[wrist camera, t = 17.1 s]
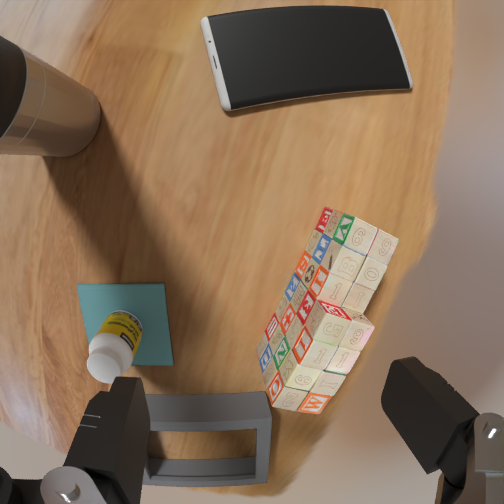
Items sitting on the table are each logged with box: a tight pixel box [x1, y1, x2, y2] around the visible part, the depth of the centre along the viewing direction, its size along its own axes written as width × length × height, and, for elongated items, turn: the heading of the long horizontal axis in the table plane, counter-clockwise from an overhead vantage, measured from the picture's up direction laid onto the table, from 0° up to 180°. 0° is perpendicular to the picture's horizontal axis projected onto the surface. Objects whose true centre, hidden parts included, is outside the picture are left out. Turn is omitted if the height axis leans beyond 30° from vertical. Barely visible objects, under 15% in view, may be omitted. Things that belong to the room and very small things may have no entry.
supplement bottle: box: [87, 310, 143, 383], centre depth 33 cm, size 5×5×10 cm
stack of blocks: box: [256, 207, 399, 414], centre depth 34 cm, size 21×6×12 cm, turn 157°
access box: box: [142, 391, 272, 487], centre depth 41 cm, size 22×18×6 cm
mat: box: [77, 283, 174, 366], centre depth 38 cm, size 12×12×1 cm
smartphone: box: [201, 6, 413, 111], centre depth 32 cm, size 13×27×2 cm, turn 104°
